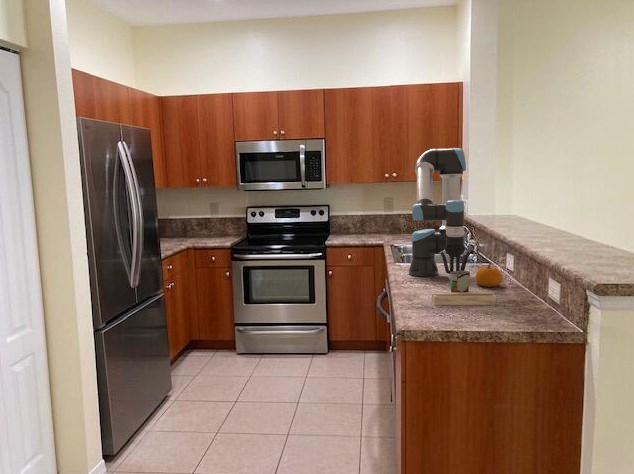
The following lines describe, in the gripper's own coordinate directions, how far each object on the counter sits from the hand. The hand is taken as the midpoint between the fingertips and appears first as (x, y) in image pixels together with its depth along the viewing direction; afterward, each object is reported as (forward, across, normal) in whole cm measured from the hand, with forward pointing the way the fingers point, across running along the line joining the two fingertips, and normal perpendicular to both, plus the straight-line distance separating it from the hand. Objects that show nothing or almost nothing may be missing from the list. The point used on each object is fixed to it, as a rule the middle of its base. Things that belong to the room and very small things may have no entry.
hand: (454, 288), depth 211 cm
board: (+2, 0, -17) cm, 17 cm away
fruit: (+2, +18, +13) cm, 22 cm away
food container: (+2, 0, -6) cm, 6 cm away
